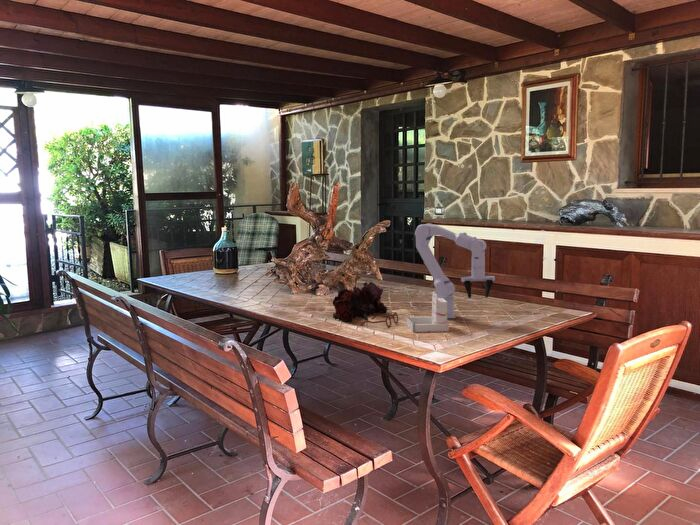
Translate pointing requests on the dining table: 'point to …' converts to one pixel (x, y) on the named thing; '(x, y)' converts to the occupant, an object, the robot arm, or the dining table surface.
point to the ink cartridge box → (439, 310)
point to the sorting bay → (425, 324)
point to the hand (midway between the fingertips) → (477, 297)
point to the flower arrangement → (358, 302)
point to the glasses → (385, 320)
